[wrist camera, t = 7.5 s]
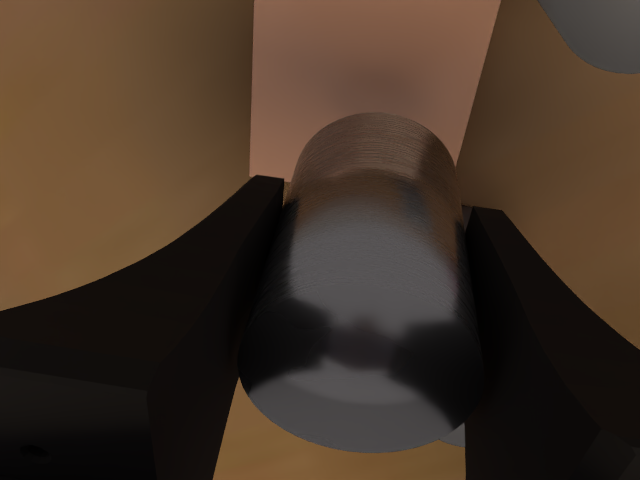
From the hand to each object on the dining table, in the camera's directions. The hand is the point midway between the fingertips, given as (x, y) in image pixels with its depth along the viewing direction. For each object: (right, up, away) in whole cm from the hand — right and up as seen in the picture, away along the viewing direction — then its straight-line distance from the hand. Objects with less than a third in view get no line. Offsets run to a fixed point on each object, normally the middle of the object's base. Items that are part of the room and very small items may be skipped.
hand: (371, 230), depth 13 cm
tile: (0, +5, +6) cm, 8 cm away
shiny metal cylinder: (0, +1, +2) cm, 2 cm away
